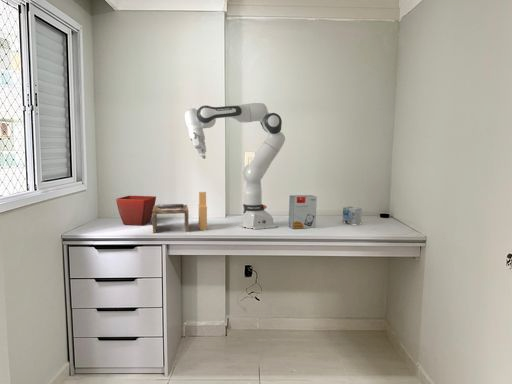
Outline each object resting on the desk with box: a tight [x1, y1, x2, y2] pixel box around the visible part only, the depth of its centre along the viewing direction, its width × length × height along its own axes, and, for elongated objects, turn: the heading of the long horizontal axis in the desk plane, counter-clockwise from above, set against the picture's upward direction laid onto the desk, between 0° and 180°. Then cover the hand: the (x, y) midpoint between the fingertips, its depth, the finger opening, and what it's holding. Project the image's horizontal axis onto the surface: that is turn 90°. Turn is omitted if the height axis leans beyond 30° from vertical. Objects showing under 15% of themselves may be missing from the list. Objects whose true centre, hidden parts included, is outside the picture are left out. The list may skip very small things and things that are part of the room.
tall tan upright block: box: [198, 191, 208, 231], centre depth 227 cm, size 4×12×22 cm, turn 13°
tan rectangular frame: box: [152, 203, 190, 234], centre depth 223 cm, size 20×20×15 cm
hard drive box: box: [288, 194, 318, 230], centre depth 232 cm, size 16×8×20 cm, turn 105°
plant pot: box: [115, 195, 157, 226], centre depth 239 cm, size 19×19×17 cm
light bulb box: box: [341, 205, 363, 225], centre depth 246 cm, size 11×7×11 cm, turn 37°
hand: (202, 157), depth 224 cm, fingers open, 8 cm apart
